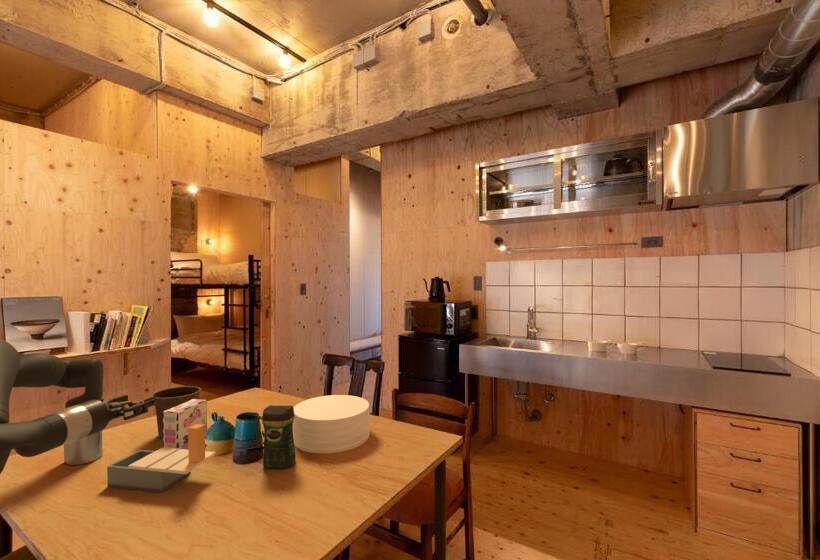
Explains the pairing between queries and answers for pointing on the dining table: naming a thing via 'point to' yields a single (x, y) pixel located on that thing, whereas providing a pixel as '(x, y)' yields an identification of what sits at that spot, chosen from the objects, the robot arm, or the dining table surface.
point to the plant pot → (172, 401)
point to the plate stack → (331, 423)
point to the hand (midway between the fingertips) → (140, 399)
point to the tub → (139, 475)
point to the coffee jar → (278, 436)
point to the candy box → (182, 422)
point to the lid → (178, 455)
